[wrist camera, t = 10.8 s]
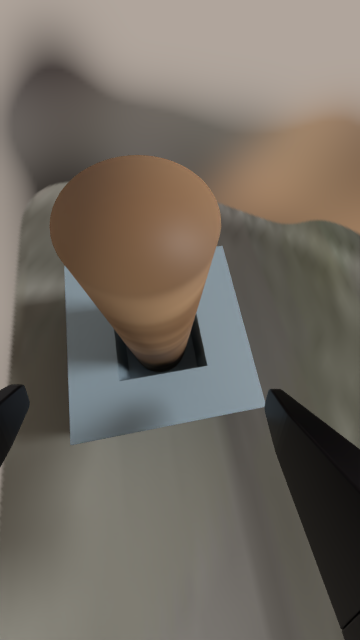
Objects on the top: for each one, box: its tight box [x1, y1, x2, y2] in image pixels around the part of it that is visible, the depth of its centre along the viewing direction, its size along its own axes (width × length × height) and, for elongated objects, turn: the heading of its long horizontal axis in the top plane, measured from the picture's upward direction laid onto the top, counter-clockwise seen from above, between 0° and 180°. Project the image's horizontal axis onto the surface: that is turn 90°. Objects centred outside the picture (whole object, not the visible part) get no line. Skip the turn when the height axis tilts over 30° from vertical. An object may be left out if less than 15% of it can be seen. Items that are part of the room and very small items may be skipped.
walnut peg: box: [50, 155, 221, 372], centre depth 11 cm, size 4×4×13 cm
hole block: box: [64, 246, 265, 445], centre depth 16 cm, size 10×10×5 cm
